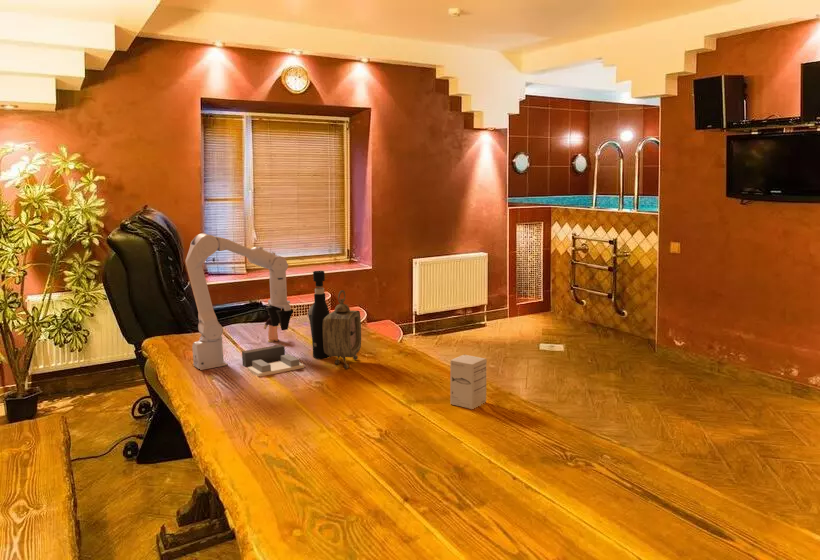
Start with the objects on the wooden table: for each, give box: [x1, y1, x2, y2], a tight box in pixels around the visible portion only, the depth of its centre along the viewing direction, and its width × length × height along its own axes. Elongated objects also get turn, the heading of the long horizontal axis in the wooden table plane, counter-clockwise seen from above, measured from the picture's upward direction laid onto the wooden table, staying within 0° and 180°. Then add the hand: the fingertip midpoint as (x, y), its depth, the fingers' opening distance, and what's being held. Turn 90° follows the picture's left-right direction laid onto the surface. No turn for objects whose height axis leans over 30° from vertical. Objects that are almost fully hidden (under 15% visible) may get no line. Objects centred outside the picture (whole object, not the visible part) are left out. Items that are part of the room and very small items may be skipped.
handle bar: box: [241, 344, 286, 368], centre depth 219 cm, size 14×3×5 cm, turn 125°
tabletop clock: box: [323, 290, 362, 370], centre depth 213 cm, size 14×9×25 cm, turn 168°
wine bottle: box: [311, 270, 332, 360], centre depth 223 cm, size 6×6×30 cm
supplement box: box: [449, 354, 488, 410], centre depth 174 cm, size 7×7×13 cm
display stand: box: [246, 354, 305, 377], centre depth 211 cm, size 16×9×3 cm, turn 125°
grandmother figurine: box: [263, 317, 280, 343], centre depth 248 cm, size 8×4×13 cm, turn 143°
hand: (280, 327), depth 227 cm, fingers open, 7 cm apart
